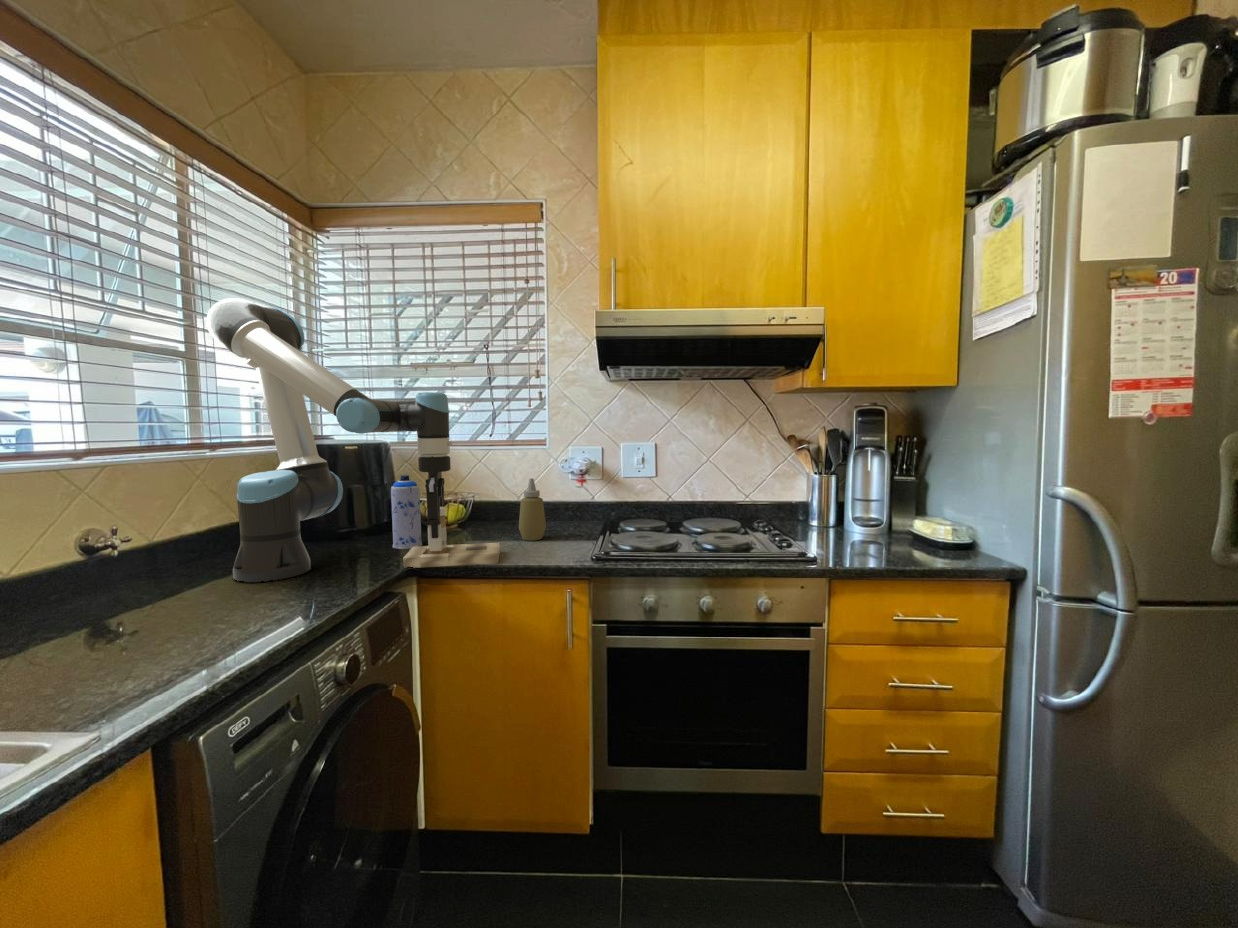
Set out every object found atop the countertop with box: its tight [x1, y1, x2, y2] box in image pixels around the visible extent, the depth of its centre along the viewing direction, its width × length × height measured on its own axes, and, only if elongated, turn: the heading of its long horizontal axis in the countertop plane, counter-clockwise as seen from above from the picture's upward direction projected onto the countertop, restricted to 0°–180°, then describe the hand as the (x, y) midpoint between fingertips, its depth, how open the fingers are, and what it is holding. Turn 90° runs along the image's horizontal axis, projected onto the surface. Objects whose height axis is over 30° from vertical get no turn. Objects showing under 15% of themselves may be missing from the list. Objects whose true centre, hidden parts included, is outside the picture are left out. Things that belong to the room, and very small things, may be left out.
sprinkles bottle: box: [427, 506, 448, 554], centre depth 133 cm, size 5×5×14 cm
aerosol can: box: [390, 474, 423, 550], centre depth 150 cm, size 8×8×20 cm
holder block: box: [402, 542, 501, 569], centre depth 135 cm, size 22×12×3 cm, turn 101°
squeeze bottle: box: [518, 478, 547, 542], centre depth 157 cm, size 8×8×18 cm
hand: (437, 547), depth 134 cm, fingers closed on sprinkles bottle, 4 cm apart
